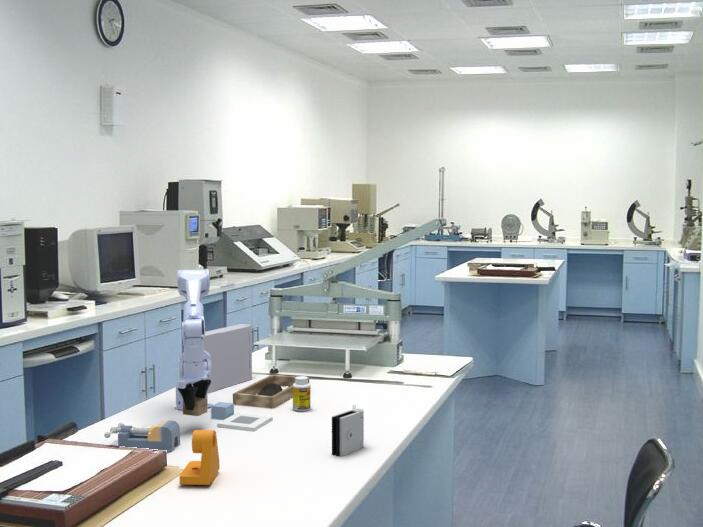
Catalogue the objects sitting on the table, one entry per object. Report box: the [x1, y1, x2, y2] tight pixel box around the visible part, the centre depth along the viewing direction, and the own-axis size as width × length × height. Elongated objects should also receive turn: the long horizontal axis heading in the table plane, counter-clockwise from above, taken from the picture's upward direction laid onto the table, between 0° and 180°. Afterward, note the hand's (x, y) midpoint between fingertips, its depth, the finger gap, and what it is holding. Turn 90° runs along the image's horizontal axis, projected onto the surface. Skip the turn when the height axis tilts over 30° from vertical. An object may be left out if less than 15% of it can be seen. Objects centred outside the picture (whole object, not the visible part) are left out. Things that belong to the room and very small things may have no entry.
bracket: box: [179, 429, 221, 486], centre depth 191 cm, size 11×7×12 cm, turn 177°
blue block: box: [210, 401, 235, 421], centre depth 244 cm, size 5×5×4 cm
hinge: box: [331, 404, 365, 457], centre depth 214 cm, size 14×5×10 cm, turn 153°
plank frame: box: [232, 374, 310, 409], centre depth 269 cm, size 14×28×4 cm, turn 159°
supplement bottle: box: [292, 375, 311, 412], centre depth 252 cm, size 6×6×10 cm
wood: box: [257, 383, 284, 396], centre depth 269 cm, size 22×8×3 cm, turn 172°
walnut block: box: [182, 397, 208, 417], centre depth 230 cm, size 5×5×4 cm
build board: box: [216, 412, 274, 432], centre depth 237 cm, size 12×12×1 cm
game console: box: [202, 323, 253, 394], centre depth 282 cm, size 6×27×20 cm, turn 148°
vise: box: [103, 419, 181, 454], centre depth 216 cm, size 18×10×7 cm, turn 83°
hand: (195, 407), depth 231 cm, fingers closed on walnut block, 5 cm apart
